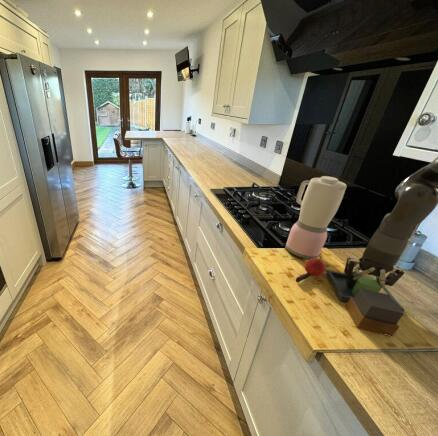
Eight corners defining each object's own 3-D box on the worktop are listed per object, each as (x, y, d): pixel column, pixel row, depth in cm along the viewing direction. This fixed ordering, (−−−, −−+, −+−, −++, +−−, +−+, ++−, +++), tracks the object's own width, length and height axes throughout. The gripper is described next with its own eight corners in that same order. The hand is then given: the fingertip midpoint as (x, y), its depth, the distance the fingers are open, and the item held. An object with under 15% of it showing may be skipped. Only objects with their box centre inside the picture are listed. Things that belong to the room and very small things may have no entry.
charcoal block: (382, 305, 67) (389, 294, 66) (396, 324, 62) (404, 313, 60) (353, 298, 69) (359, 288, 68) (364, 316, 63) (371, 305, 62)
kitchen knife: (297, 283, 80) (299, 278, 79) (294, 281, 81) (296, 277, 80) (327, 269, 88) (329, 265, 87) (324, 267, 89) (326, 263, 88)
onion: (322, 283, 81) (331, 264, 78) (303, 278, 83) (311, 260, 79) (318, 273, 86) (326, 255, 83) (300, 269, 88) (307, 251, 84)
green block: (365, 288, 79) (372, 276, 77) (374, 299, 74) (381, 287, 72) (346, 284, 80) (352, 272, 78) (353, 295, 76) (360, 283, 73)
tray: (377, 285, 81) (380, 280, 80) (400, 315, 70) (404, 310, 69) (325, 274, 85) (327, 270, 85) (339, 301, 74) (342, 295, 73)
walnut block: (376, 314, 70) (383, 304, 68) (392, 336, 63) (399, 326, 61) (345, 306, 72) (350, 297, 70) (356, 327, 65) (363, 317, 63)
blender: (325, 258, 95) (360, 182, 81) (304, 264, 91) (336, 184, 77) (291, 239, 108) (316, 170, 94) (271, 243, 104) (294, 172, 90)
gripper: (362, 248, 68) (339, 291, 76) (425, 259, 64) (394, 304, 72) (351, 235, 75) (331, 277, 82) (408, 245, 71) (381, 288, 78)
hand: (360, 289), depth 77 cm, fingers open, 5 cm apart
